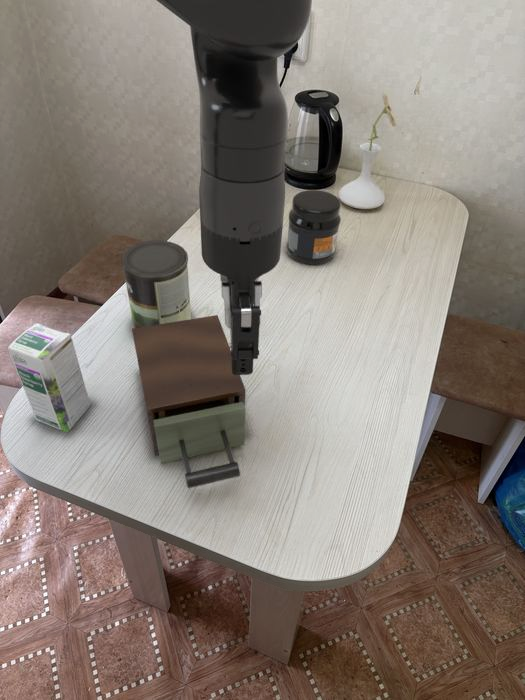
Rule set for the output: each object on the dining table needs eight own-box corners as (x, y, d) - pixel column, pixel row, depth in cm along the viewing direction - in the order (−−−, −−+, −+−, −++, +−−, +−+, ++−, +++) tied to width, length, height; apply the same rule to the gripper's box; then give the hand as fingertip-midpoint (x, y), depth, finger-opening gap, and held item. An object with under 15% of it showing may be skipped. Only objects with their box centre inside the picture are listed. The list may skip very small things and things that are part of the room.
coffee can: (131, 346, 85) (118, 277, 75) (135, 307, 92) (124, 240, 83) (192, 343, 86) (187, 275, 76) (192, 305, 93) (187, 239, 84)
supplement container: (344, 259, 107) (353, 207, 98) (300, 270, 103) (306, 217, 95) (318, 235, 113) (325, 184, 105) (277, 245, 110) (281, 193, 101)
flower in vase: (376, 218, 120) (400, 107, 103) (331, 206, 124) (347, 97, 106) (390, 196, 129) (414, 90, 112) (347, 185, 132) (365, 81, 115)
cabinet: (244, 435, 72) (245, 390, 66) (154, 455, 69) (146, 409, 63) (218, 360, 83) (217, 314, 77) (140, 374, 80) (131, 328, 73)
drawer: (258, 487, 65) (261, 451, 60) (169, 509, 63) (163, 474, 57) (219, 371, 80) (219, 334, 75) (146, 385, 77) (139, 348, 72)
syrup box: (34, 421, 73) (3, 348, 63) (61, 393, 77) (35, 320, 67) (67, 433, 71) (41, 361, 61) (92, 404, 75) (71, 331, 65)
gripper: (198, 178, 50) (204, 306, 61) (201, 258, 40) (207, 394, 51) (273, 178, 51) (265, 304, 62) (295, 256, 41) (280, 391, 52)
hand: (239, 345), depth 57 cm, fingers open, 8 cm apart
